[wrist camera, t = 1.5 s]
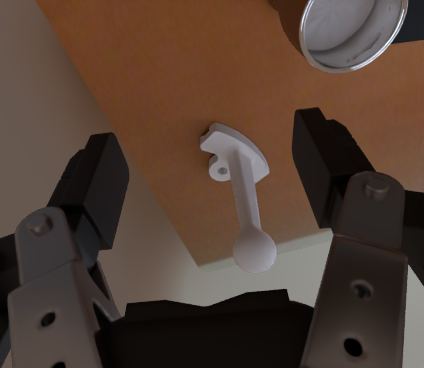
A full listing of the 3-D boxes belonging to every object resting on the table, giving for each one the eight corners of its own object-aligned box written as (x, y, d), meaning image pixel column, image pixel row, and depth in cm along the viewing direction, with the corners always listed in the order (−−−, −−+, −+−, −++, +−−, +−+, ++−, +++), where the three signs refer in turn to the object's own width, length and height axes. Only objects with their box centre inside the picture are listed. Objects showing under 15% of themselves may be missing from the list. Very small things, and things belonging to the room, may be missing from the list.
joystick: (272, 158, 45) (309, 279, 30) (237, 186, 49) (254, 305, 34) (220, 116, 39) (234, 238, 25) (185, 150, 43) (178, 274, 29)
